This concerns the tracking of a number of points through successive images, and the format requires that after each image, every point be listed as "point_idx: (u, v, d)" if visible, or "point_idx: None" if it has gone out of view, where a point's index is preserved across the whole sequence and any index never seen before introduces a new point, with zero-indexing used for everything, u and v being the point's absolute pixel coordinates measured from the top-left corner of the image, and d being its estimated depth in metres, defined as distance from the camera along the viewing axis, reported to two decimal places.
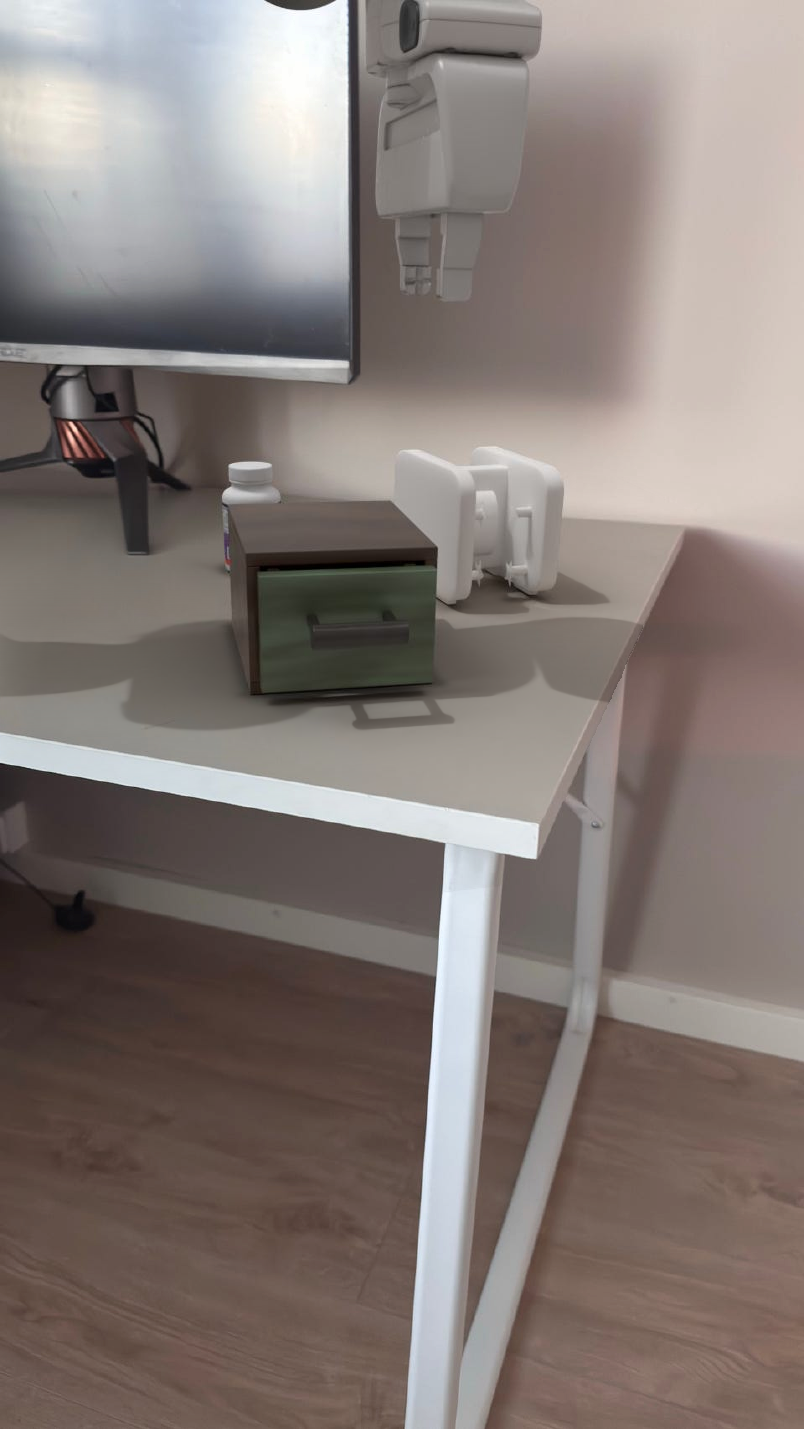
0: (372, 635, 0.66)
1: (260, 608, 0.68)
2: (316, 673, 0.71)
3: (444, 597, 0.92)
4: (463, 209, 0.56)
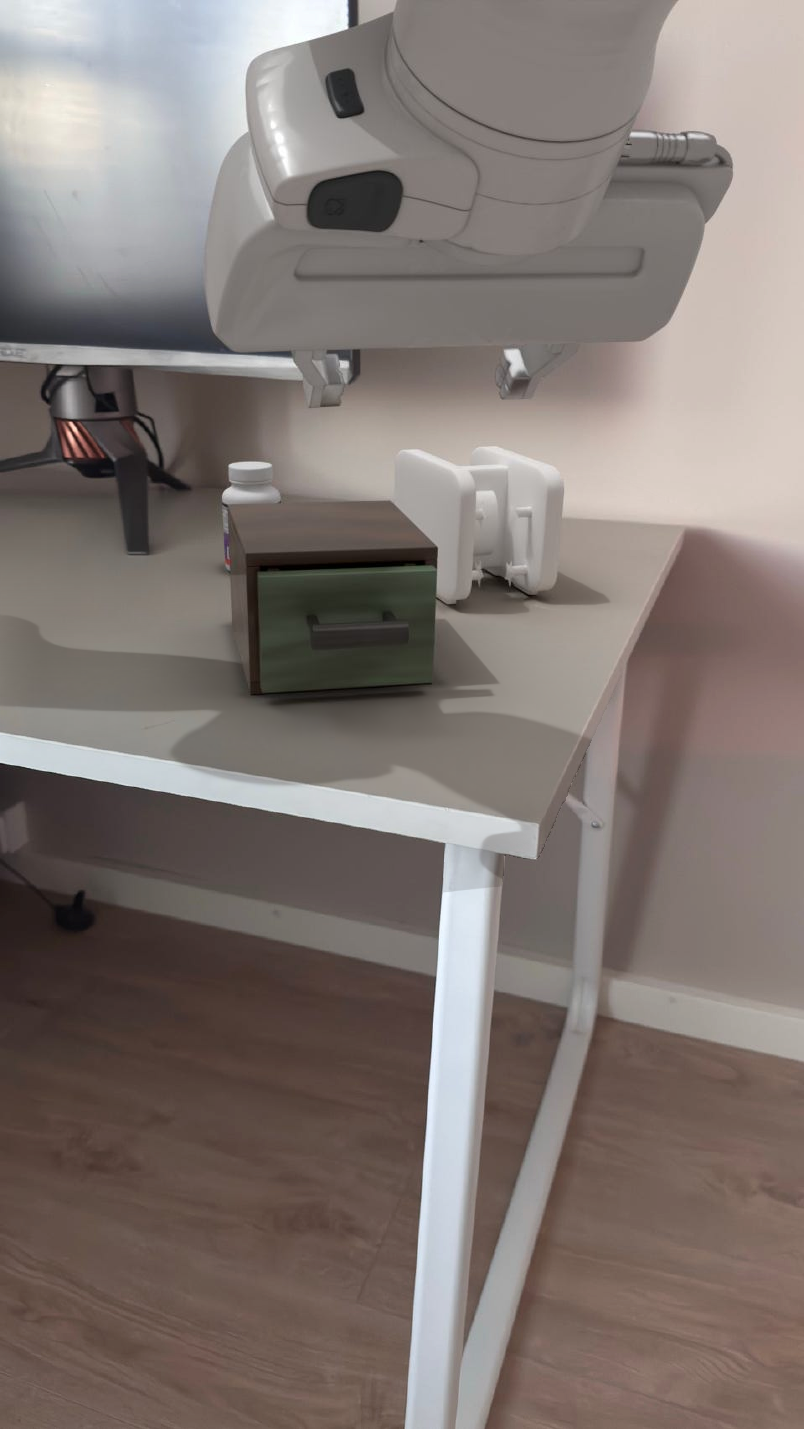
0: (372, 635, 0.66)
1: (260, 608, 0.68)
2: (316, 673, 0.71)
3: (444, 597, 0.92)
4: None
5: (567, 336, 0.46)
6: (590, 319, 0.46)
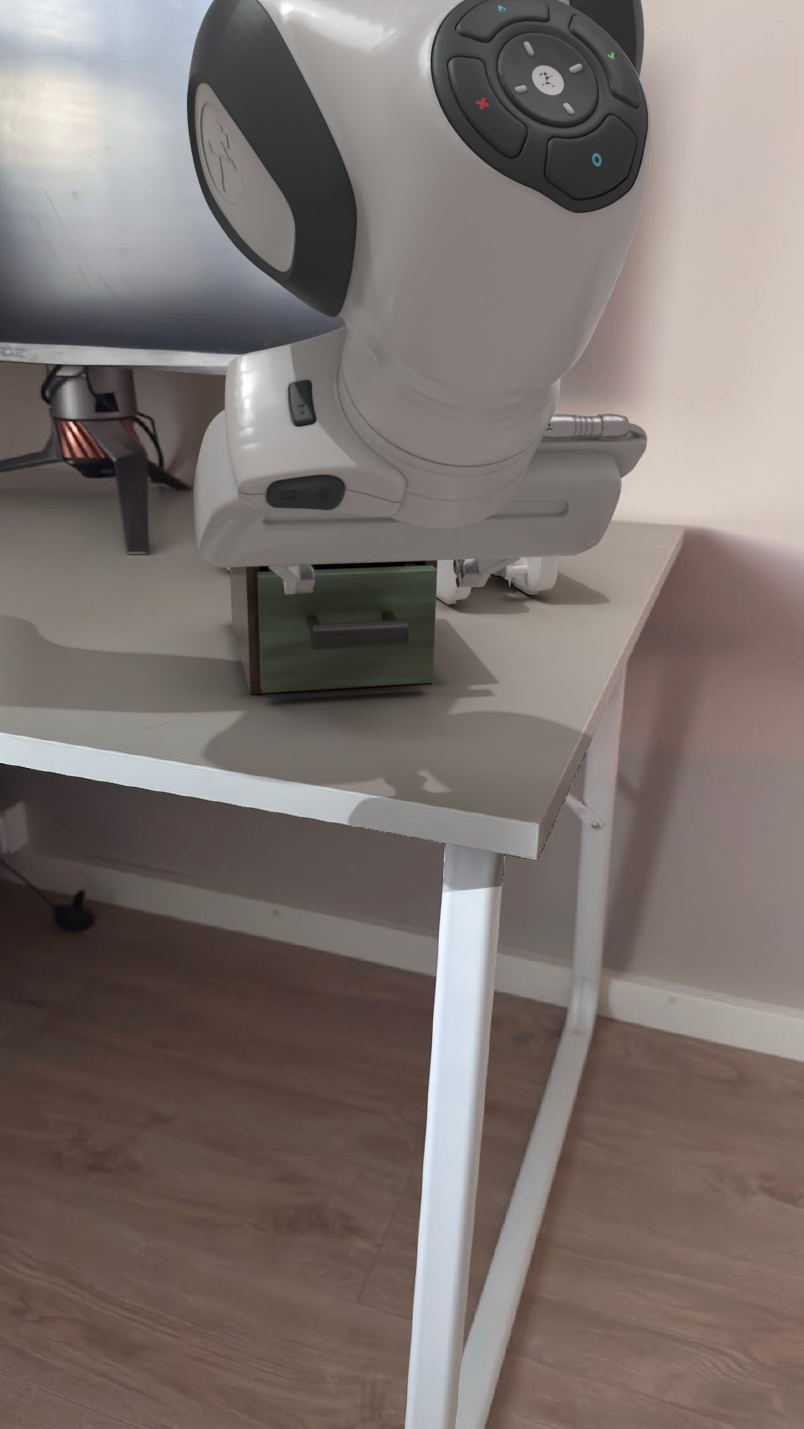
0: (372, 635, 0.66)
1: (260, 608, 0.68)
2: (316, 673, 0.71)
3: (444, 597, 0.92)
4: None
5: (506, 554, 0.54)
6: (525, 544, 0.53)
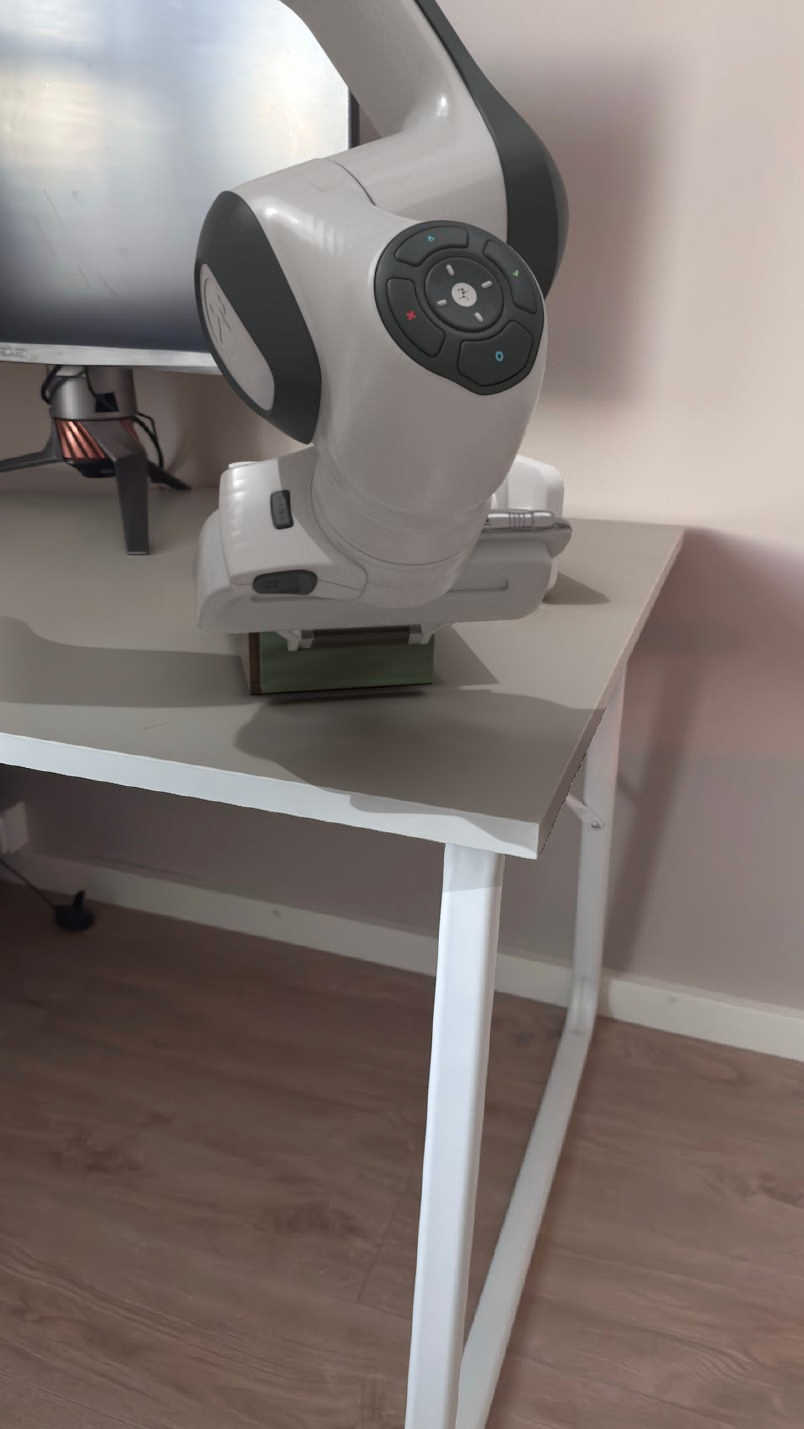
0: (372, 635, 0.66)
1: None
2: (316, 673, 0.71)
3: None
4: None
5: (458, 620, 0.63)
6: (474, 612, 0.63)
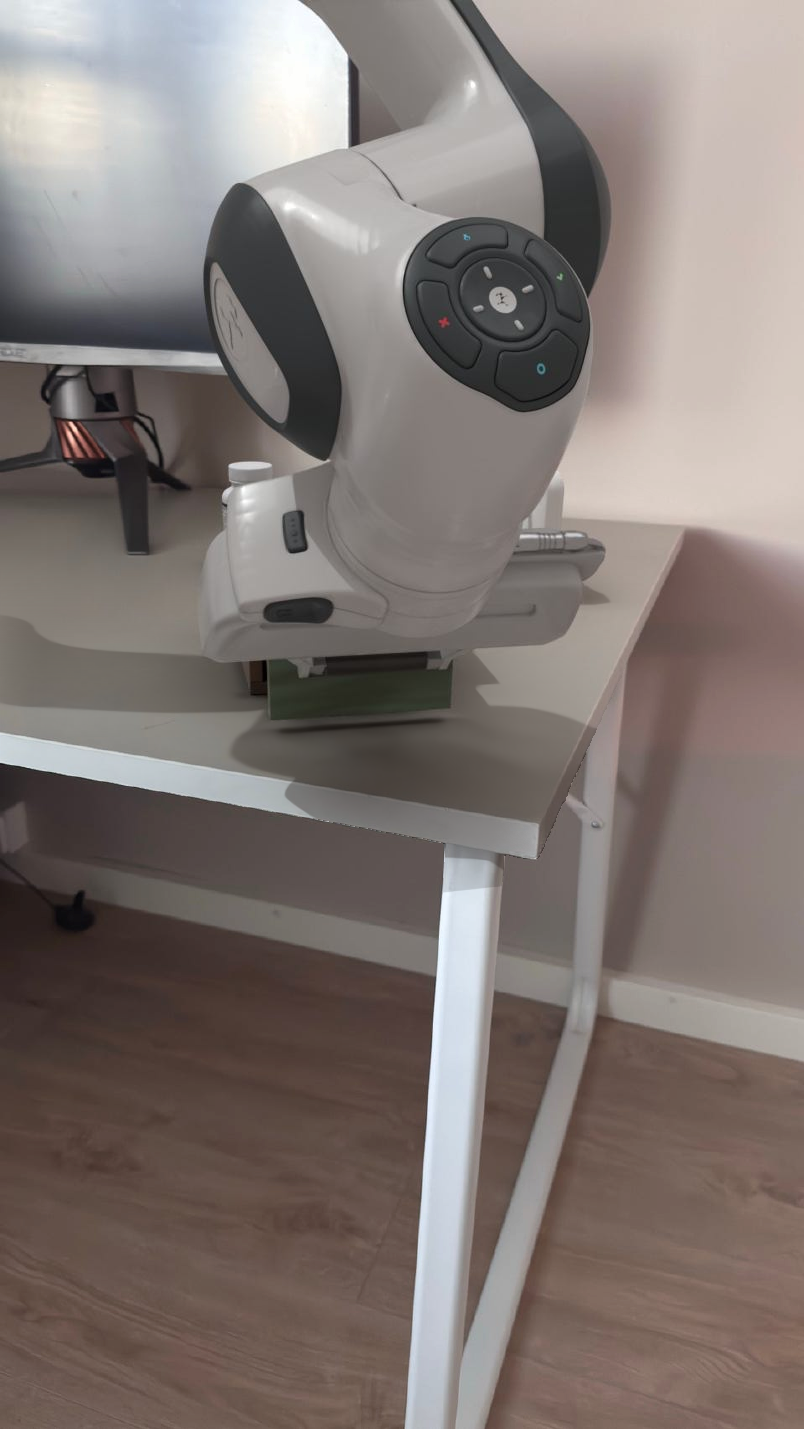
0: (388, 661, 0.62)
1: None
2: (327, 699, 0.67)
3: None
4: None
5: (481, 646, 0.59)
6: (498, 637, 0.58)
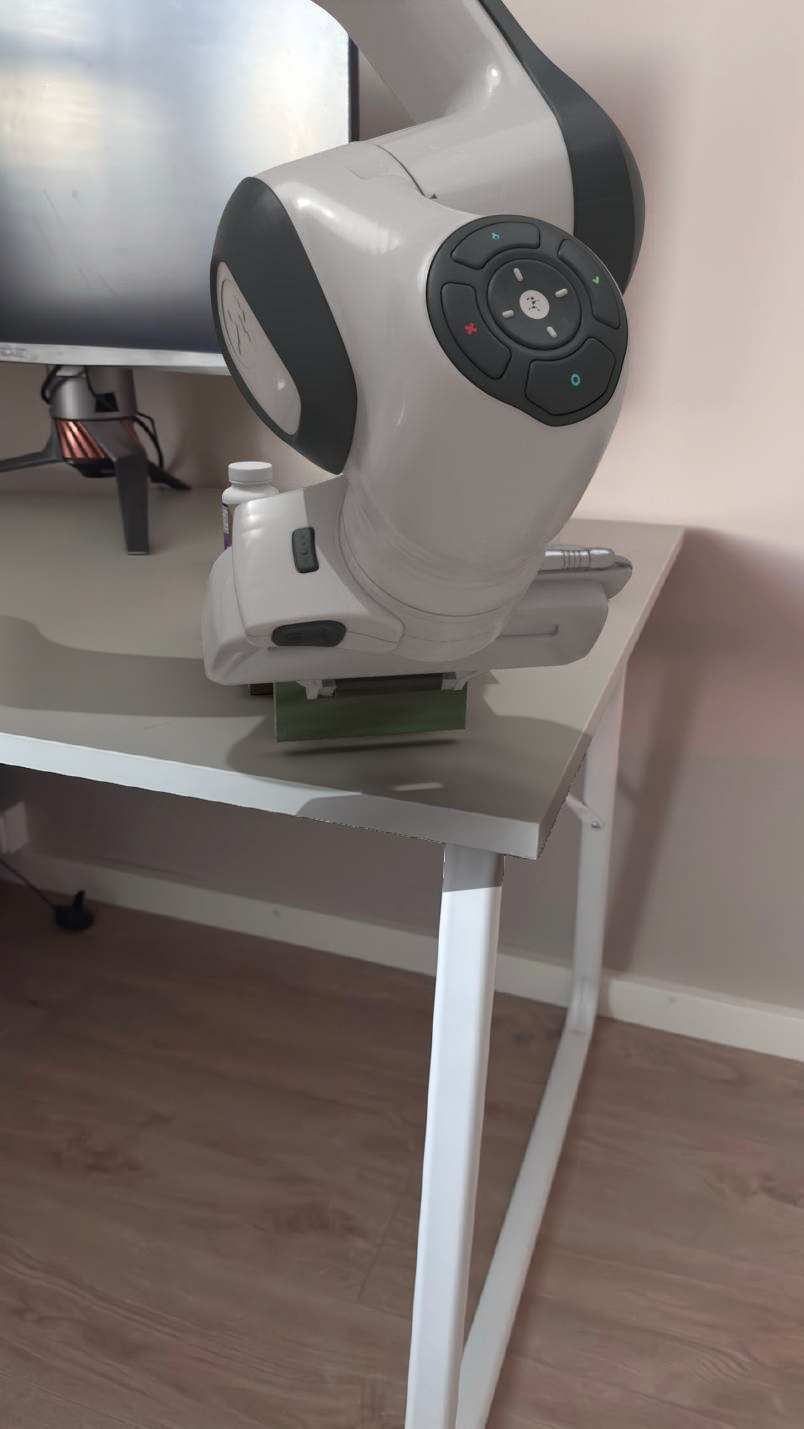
0: (401, 682, 0.59)
1: None
2: (336, 720, 0.64)
3: None
4: None
5: (499, 667, 0.56)
6: (517, 658, 0.56)
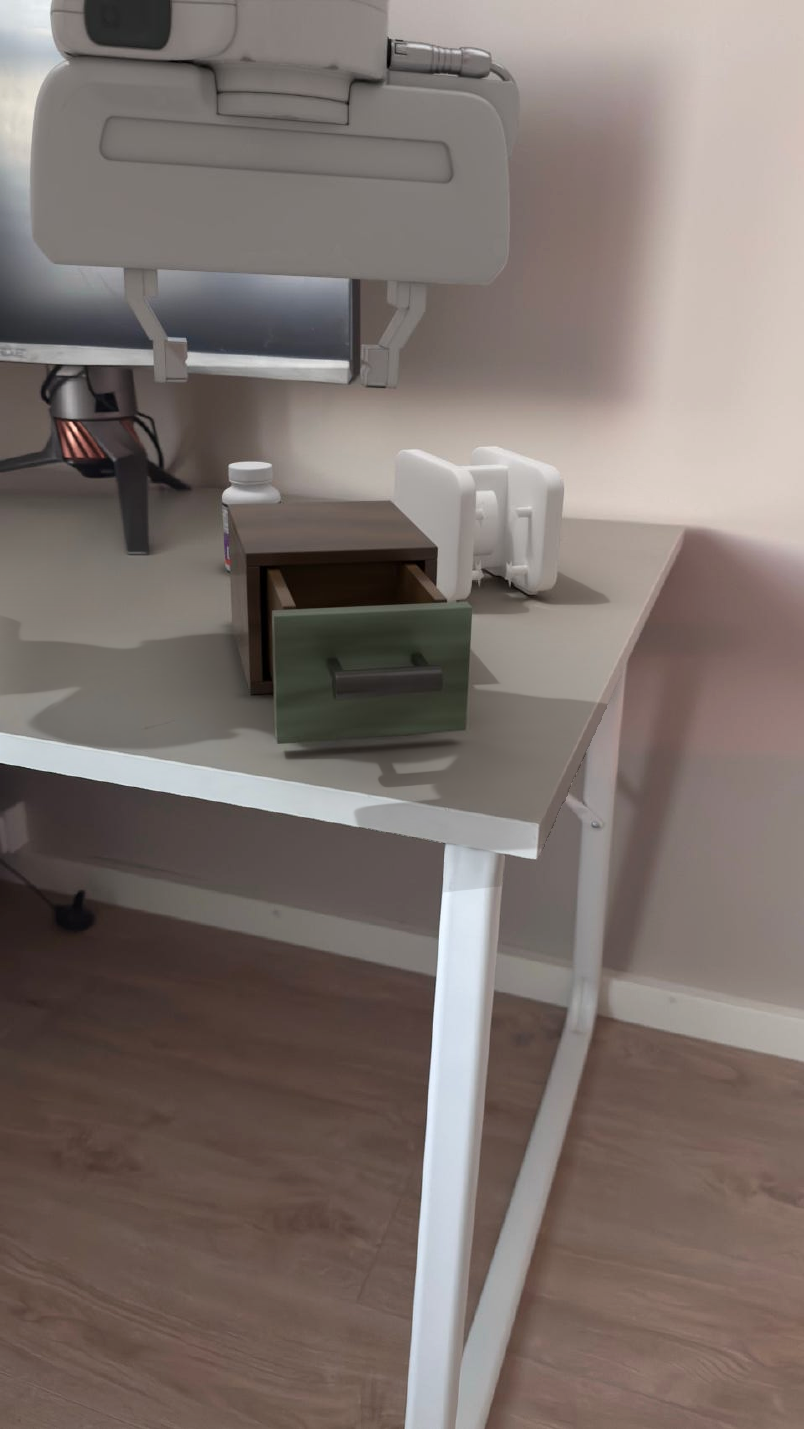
0: (402, 683, 0.59)
1: (275, 651, 0.61)
2: (337, 722, 0.64)
3: None
4: None
5: (402, 262, 0.46)
6: (419, 239, 0.46)
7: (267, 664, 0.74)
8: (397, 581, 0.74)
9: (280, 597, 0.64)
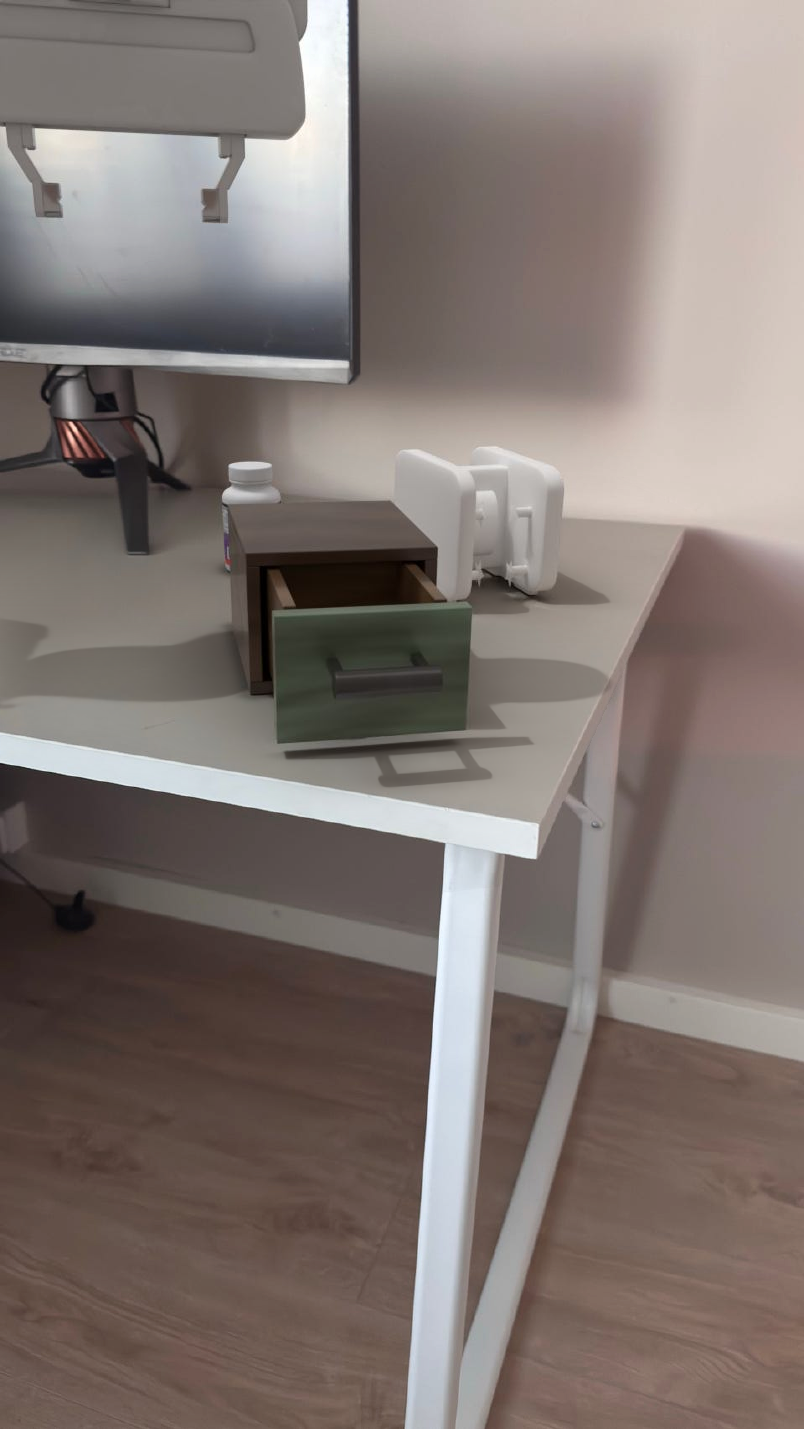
0: (402, 683, 0.59)
1: (275, 651, 0.61)
2: (337, 722, 0.64)
3: None
4: None
5: (220, 116, 0.60)
6: (233, 98, 0.60)
7: (267, 664, 0.74)
8: (397, 581, 0.74)
9: (280, 597, 0.64)
